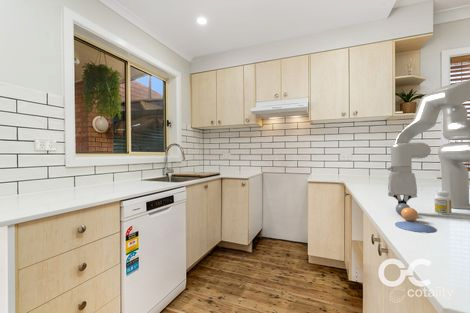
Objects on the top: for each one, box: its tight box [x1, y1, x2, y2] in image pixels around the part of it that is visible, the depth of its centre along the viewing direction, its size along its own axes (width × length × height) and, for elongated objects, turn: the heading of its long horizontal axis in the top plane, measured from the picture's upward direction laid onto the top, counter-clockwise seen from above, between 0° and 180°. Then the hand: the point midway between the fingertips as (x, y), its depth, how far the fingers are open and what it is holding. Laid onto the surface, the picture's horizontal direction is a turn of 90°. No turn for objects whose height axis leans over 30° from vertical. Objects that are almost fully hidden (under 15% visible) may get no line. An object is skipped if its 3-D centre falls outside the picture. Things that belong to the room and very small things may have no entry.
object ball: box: [400, 207, 419, 222], centre depth 88 cm, size 6×6×6 cm
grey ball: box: [395, 203, 411, 216], centre depth 95 cm, size 6×6×6 cm
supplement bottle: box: [434, 190, 452, 215], centre depth 97 cm, size 5×5×10 cm
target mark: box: [394, 220, 437, 234], centre depth 82 cm, size 12×12×1 cm
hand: (402, 209), depth 100 cm, fingers closed
